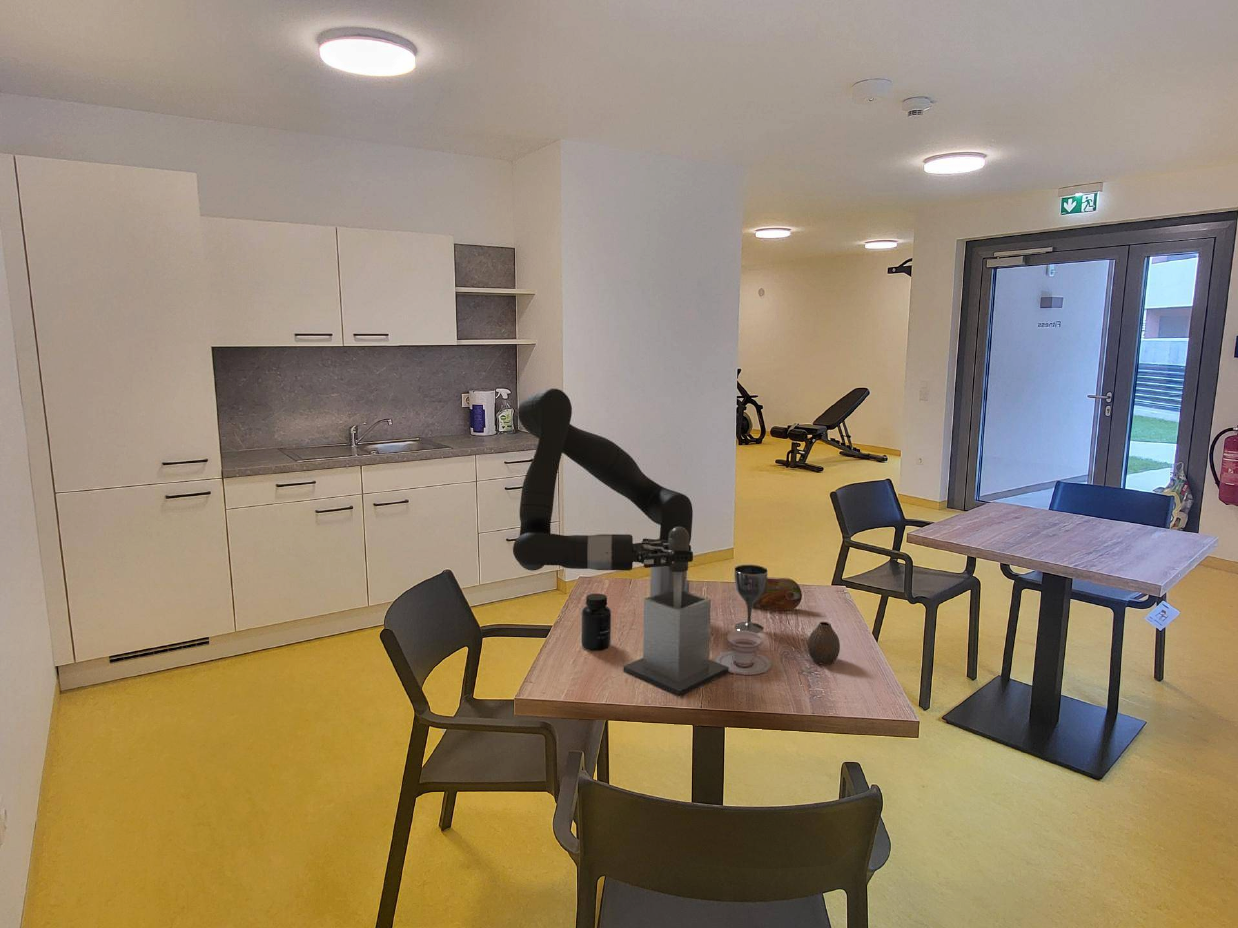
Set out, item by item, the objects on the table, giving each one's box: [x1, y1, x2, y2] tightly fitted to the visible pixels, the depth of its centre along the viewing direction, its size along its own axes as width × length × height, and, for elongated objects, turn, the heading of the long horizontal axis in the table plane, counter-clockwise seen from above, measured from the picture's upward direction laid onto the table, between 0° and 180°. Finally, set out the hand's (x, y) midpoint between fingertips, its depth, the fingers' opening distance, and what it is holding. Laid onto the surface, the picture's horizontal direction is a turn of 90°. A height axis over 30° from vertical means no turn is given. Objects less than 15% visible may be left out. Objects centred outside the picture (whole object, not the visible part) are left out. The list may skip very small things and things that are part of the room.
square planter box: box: [622, 589, 730, 697], centre depth 161 cm, size 16×16×16 cm
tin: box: [752, 576, 803, 612], centre depth 200 cm, size 15×3×8 cm, turn 77°
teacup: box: [715, 630, 771, 676], centre depth 166 cm, size 12×12×6 cm
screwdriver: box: [668, 527, 690, 609], centre depth 159 cm, size 8×8×25 cm
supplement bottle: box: [580, 593, 612, 652], centre depth 175 cm, size 7×7×12 cm
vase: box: [807, 621, 841, 665], centre depth 167 cm, size 7×7×9 cm
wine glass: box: [733, 564, 768, 634], centre depth 186 cm, size 8×8×15 cm
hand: (691, 552), depth 158 cm, fingers closed on screwdriver, 4 cm apart
